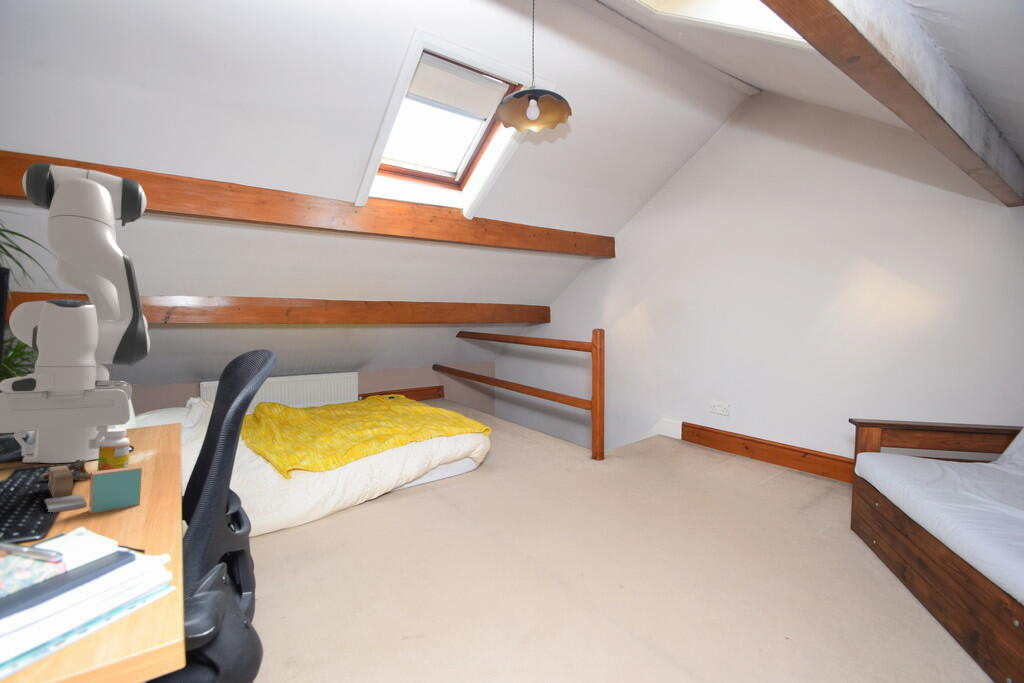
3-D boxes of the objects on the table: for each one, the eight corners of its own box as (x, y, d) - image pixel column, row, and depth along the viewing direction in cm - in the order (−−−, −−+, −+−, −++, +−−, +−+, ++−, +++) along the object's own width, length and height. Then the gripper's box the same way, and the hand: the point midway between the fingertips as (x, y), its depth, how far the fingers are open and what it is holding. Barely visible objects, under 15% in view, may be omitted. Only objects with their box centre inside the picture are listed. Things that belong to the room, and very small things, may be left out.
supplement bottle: (91, 473, 107) (94, 430, 107) (119, 467, 112) (121, 426, 112) (106, 476, 105) (108, 432, 105) (133, 471, 110) (135, 429, 110)
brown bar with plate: (39, 490, 94) (40, 468, 94) (73, 485, 98) (74, 464, 98) (48, 513, 83) (50, 488, 83) (86, 507, 87) (87, 482, 87)
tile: (88, 510, 85) (91, 471, 85) (137, 502, 91) (139, 465, 91) (90, 513, 84) (93, 474, 84) (139, 505, 89) (142, 468, 89)
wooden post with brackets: (91, 477, 101) (81, 458, 101) (48, 493, 100) (39, 474, 99) (96, 475, 103) (87, 456, 103) (54, 491, 101) (45, 472, 101)
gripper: (129, 379, 103) (125, 443, 102) (-11, 381, 87) (-16, 456, 87) (135, 380, 99) (132, 447, 98) (-10, 383, 83) (-15, 462, 83)
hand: (61, 451), depth 92 cm, fingers open, 8 cm apart
